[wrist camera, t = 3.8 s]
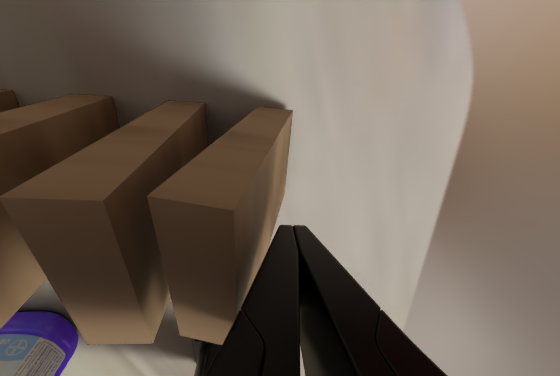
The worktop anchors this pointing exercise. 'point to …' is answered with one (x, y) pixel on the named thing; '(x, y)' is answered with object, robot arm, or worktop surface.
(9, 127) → the domino
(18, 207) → the domino
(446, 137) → the worktop surface
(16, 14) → the worktop surface
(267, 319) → the robot arm
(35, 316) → the bottle
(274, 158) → the domino
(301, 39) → the worktop surface
